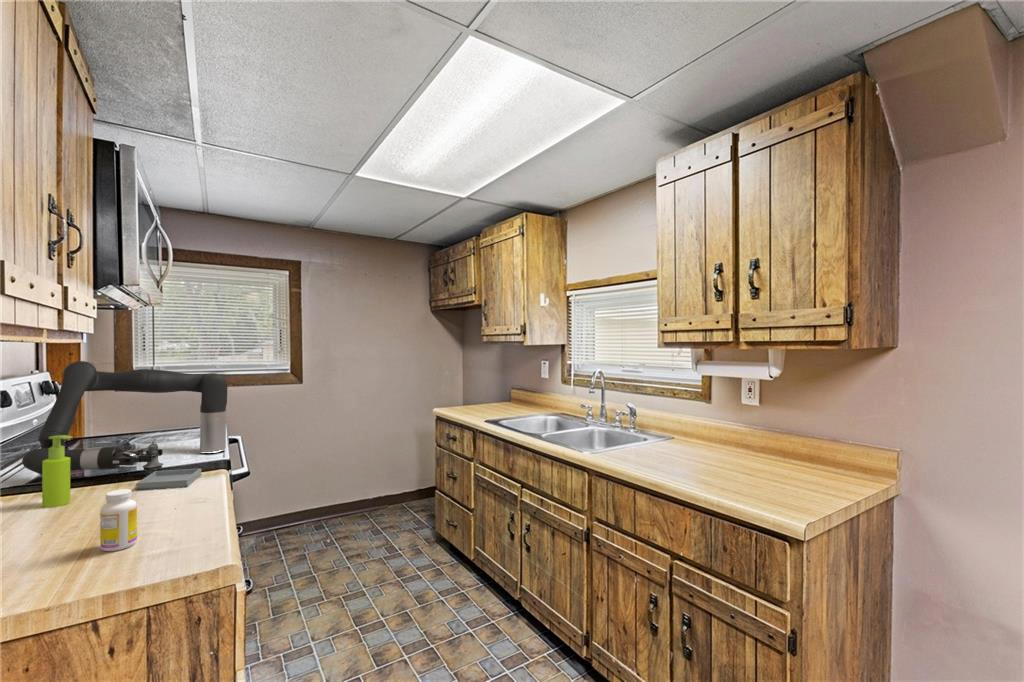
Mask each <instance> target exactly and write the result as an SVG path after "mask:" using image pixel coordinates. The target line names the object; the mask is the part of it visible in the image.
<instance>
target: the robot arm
mask: <svg viewBox="0 0 1024 682" xmlns="http://www.w3.org/2000/svg"><path fill="white" fill-rule="evenodd" d="M104 391H105V392H107V391H109V392H110V391H111V392H112V391H113V392H114V391H115V392H129V393H130V392H132V393H145V394H147V393H150V394H151V393H153V394H160V393H161V394H163V393H165V394H166V393H167V394H168V393H176V392H177V393H178V392H194V393H201V397H200V398H201V400H200V401H201V403H200V406H199V407H200V410H199V412H200V413H199V414H200V416H199V417H200V419H199V423H200V424H199V426H200V427H199V431H200V432H199V452H200V451H201V452H213V451H219V450H223V449H225V448H226V449H227V446H226V445H227V442H226V441H227V436H226V435H227V404H228V382H227V379H226V378H225V377H224V376H223V375H221V374H219V373H214V372H211V373H210V372H208V373H184V372H178V371H172V370H164V369H163V370H162V369H151V368H149V369H148V368H139V369H131V370H125V371H116V372H115V371H114V372H113V371H112V372H111V371H109V372H107V371H100V370H99V371H98V370H97V368H96V367H95V366H94V364H92V363H90V362H89V361H85V360H80V361H79V360H78V361H74V362H72V363H70V364H68V365H67V366H66V367H65V368H64V370H63V372H62V382H61V386H60V389H59V392H58V395H57V397H56V399H55V401H54V404H53V406H52V408H51V410H50V411H49V414H48V416H47V418H46V420H45V422H44V423H43V425H42V429H41V430H40V432H39V434H38V435H39V436H38V438H37V440H38V442H39V443H40V444H39V445H40V448H35V449H32V450H30V451H28V452H26V453H25V455H23V457H22V460H21V462H22V465H23V467H24V468H25V469H28V470H29V471H32V472H34V473H36V474H38V475H42V461H43V460H46V459H49V448H50V447H52V446H53V439H49V437H51V436H57V435H67V436H69V434H70V431H71V429H72V426H73V424H74V421H75V419H76V416H77V415H76V414H77V413H78V408H79V405H80V403H81V400H82V398H83V396H84V394H85V392H104ZM61 445H62V446H64V447H66V446H65V445H66V440H65V439H61ZM163 451H164V450H163V449H161V448H158V453H159V455H158V457H161V456H162V455H163ZM147 454H148V447H145V448H131V449H129V450H128V449H127V450H126V451H123V450H122V448H121V447H120V446H116V445H115V446H99V447H96V446H95V447H91V448H90V447H89V448H73V449H65V457H70V471H84V470H85V471H86V470H87V471H98V470H99V471H100V470H115V469H118V468H119V467H120V466H133V465H134V464H135V465H136V464H139V463H147V462H151V461H152V455H147Z"/></svg>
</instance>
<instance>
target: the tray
mask: <svg viewBox="0 0 1024 682" xmlns="http://www.w3.org/2000/svg"><path fill="white" fill-rule="evenodd" d="M201 476H202V468H186V469H185V468H184V469H170V470H160V471H154V472H153V473H151V474H150V475H148V476H147V477H143V478H142V479H141V480H140V481H138V482H136V483H135V491H136V492H139V491H140V492H141V491H152V490H154V489H156V490H166V489H167V488H170V489H181V488H182V489H183V487H184V488H188V487H190V485H191V484H193V483H194V482H195V481H196V480H198V479H199V478H200V477H201ZM154 491H155V490H154Z"/></svg>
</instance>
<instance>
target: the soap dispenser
mask: <svg viewBox="0 0 1024 682" xmlns="http://www.w3.org/2000/svg"><path fill="white" fill-rule="evenodd" d="M73 438H74V436H71V435H68V436H67V435H57V436H51V437H49V439H53V446H52V447H50V448H49V459H46V460H43V461H42V474H41V476H42V477H41V478H42V481H41V482H42V484H41V485H42V487H41V488H42V491H41V492H42V498H41V500H42V501H41V503H42V506H43V507H42V506H41V507H42V508H44V507H51V508H54V507H53V506H58V507H61V506H60V505H62V506H65V505H64V504H66V505H68V504H70V503H71V470H70V457H65V447H66V446H65V447H64V446H62V445H61V439H65V441H66V440H70V439H73ZM69 502H70V503H69ZM67 503H68V504H67Z"/></svg>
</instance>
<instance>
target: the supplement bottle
mask: <svg viewBox="0 0 1024 682" xmlns="http://www.w3.org/2000/svg"><path fill="white" fill-rule="evenodd" d="M131 497H132V489H130V488H123V489H122V488H121V489H115V490H111V491H108V492H107V493H105V500H106V503H105V504H103V505H102V506H101V508H100V511H99V512H100V513H99V517H100V519H99V520H100V526H99V527H100V528H99V530H100V532H99V533H100V535H99V536H100V537H99V540H100V541H99V542H100V545H99V546H100V549H101V551H104V552H115V551H116V552H117V551H121V550H124V549H127V548H129V547H132V546H133V545H135V544H136V543H137V541H138V539H137V538H138V521H137V520H138V512H137V511H138V507H137V506H138V504H137V502H136V500H134V499H131Z"/></svg>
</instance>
